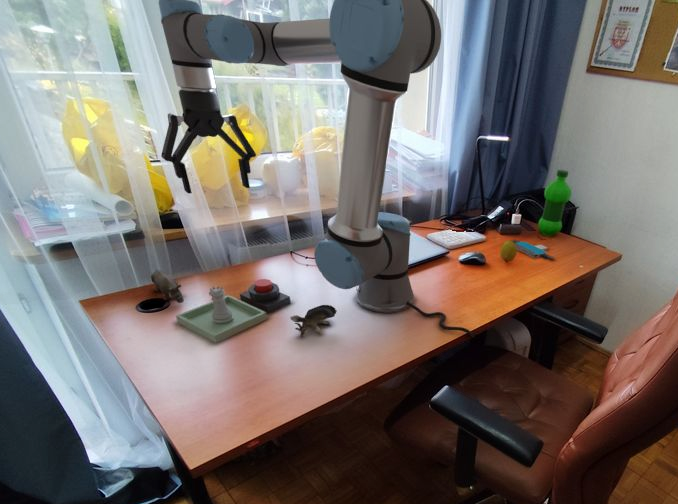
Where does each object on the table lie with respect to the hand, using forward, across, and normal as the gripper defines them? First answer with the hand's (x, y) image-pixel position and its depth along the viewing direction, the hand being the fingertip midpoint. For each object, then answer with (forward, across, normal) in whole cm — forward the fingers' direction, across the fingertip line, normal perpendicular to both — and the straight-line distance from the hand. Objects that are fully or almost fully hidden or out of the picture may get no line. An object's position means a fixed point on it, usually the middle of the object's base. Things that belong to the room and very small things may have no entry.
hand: (218, 189), depth 103 cm
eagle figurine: (+24, -4, +38) cm, 45 cm away
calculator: (+24, -78, +9) cm, 82 cm away
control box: (+23, 0, +19) cm, 30 cm away
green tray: (+23, +11, +22) cm, 34 cm away
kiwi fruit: (+24, -78, +34) cm, 88 cm away
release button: (+20, 0, +19) cm, 27 cm away
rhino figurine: (+23, +17, +6) cm, 30 cm away
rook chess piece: (+23, +11, +22) cm, 34 cm away
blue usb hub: (+24, -97, +31) cm, 105 cm away
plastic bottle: (+24, -119, +22) cm, 123 cm away
